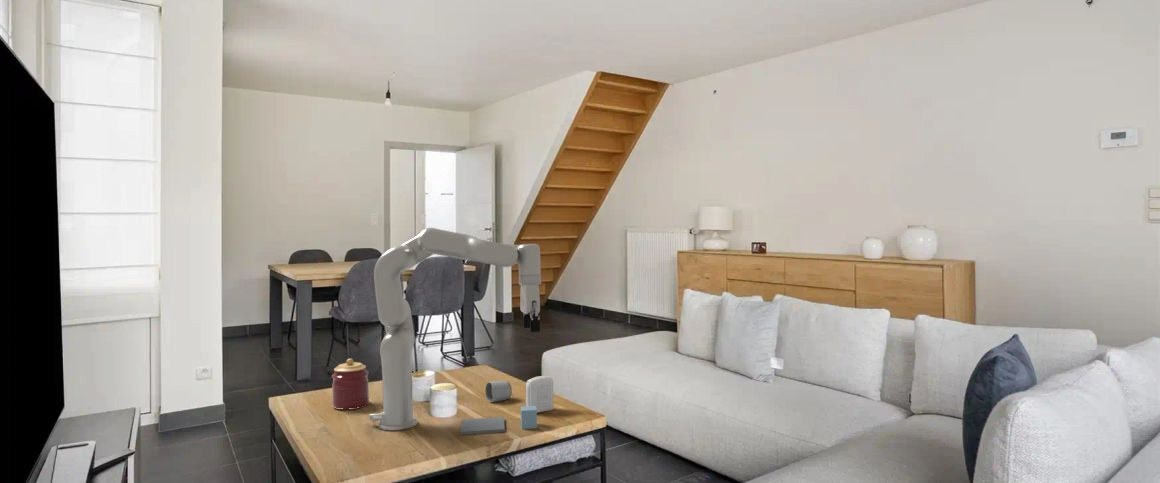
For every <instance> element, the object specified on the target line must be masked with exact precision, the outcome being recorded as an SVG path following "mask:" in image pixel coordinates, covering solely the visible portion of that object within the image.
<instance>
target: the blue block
mask: <svg viewBox="0 0 1160 483" xmlns="http://www.w3.org/2000/svg"><path fill="white" fill-rule="evenodd" d="M520 426H521V429H522V430H529V429H531V430H532V429H537V428H538V413H537V409H536V406H526V405H523V406H520Z"/></svg>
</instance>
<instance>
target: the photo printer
mask: <svg viewBox="0 0 1160 483" xmlns="http://www.w3.org/2000/svg"><path fill="white" fill-rule="evenodd" d="M525 406H536V409H537V414H538V413H542V412H548V411H552V410H554V381H553V378H552V377H551V376H547V375H541V376H540V375H539V376H535V377H532V378H530V379H527V380H526V382H525Z"/></svg>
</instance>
